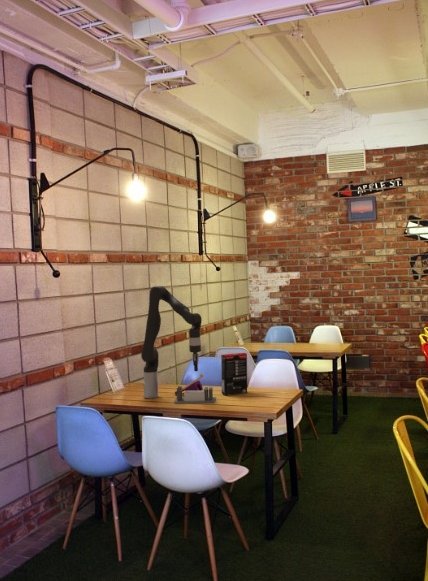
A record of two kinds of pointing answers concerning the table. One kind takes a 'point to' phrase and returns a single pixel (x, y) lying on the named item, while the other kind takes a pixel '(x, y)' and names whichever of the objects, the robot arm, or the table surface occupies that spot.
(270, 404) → the table surface
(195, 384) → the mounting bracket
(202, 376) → the strap
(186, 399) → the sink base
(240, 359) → the graphics card box
